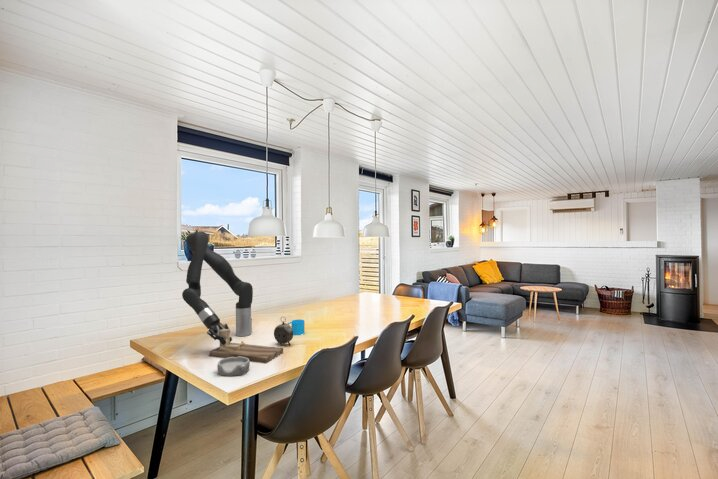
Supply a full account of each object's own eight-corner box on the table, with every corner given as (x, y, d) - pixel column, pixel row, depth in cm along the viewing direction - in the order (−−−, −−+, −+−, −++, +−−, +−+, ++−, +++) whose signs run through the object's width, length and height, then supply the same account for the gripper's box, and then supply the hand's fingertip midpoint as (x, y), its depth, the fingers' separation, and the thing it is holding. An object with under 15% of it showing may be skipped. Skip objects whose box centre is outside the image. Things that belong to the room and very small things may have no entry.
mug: (305, 332, 226) (305, 319, 226) (302, 335, 218) (302, 322, 218) (287, 331, 227) (287, 319, 227) (284, 335, 219) (284, 322, 219)
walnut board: (229, 346, 195) (229, 342, 195) (283, 352, 184) (283, 348, 184) (208, 356, 179) (208, 351, 179) (266, 363, 169) (266, 358, 169)
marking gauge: (232, 343, 192) (232, 325, 192) (247, 345, 189) (247, 327, 189) (219, 349, 183) (219, 330, 183) (235, 351, 180) (235, 331, 180)
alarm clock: (293, 345, 198) (293, 316, 198) (288, 347, 193) (288, 318, 193) (278, 342, 203) (278, 314, 203) (272, 345, 198) (272, 316, 198)
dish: (249, 375, 154) (249, 364, 154) (215, 379, 151) (215, 367, 151) (249, 364, 168) (249, 353, 168) (219, 367, 164) (219, 356, 164)
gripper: (203, 316, 179) (223, 341, 175) (222, 310, 193) (240, 334, 189) (195, 325, 181) (214, 351, 177) (214, 319, 194) (232, 343, 191)
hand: (227, 342), depth 183 cm, fingers open, 4 cm apart
